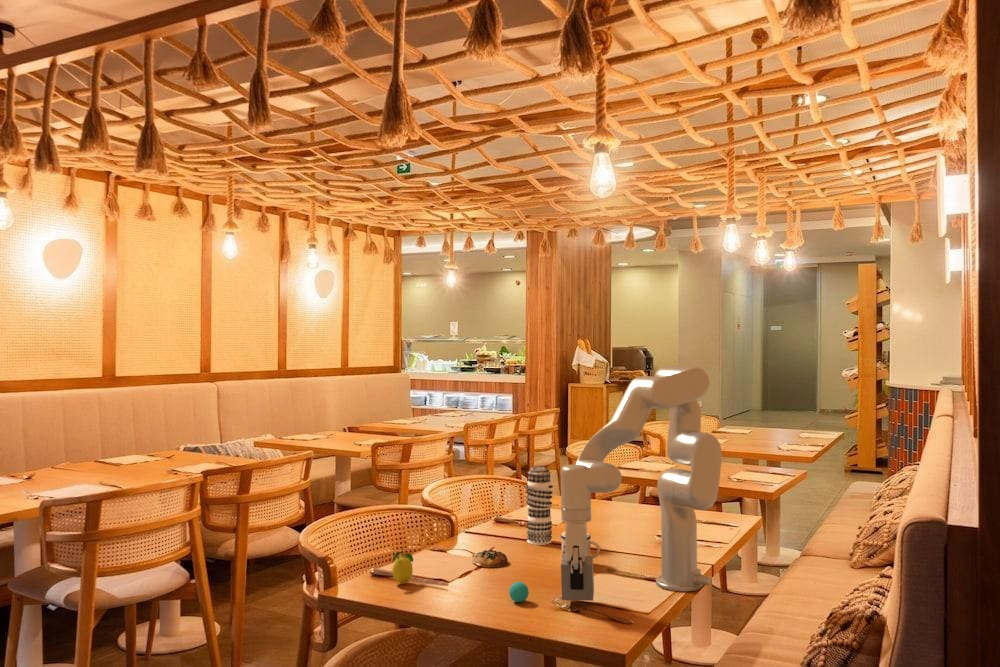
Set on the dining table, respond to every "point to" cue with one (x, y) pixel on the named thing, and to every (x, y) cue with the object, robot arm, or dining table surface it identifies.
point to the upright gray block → (588, 581)
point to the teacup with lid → (586, 546)
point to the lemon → (402, 567)
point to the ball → (518, 592)
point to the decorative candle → (539, 506)
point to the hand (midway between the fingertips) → (577, 583)
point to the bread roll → (490, 559)
